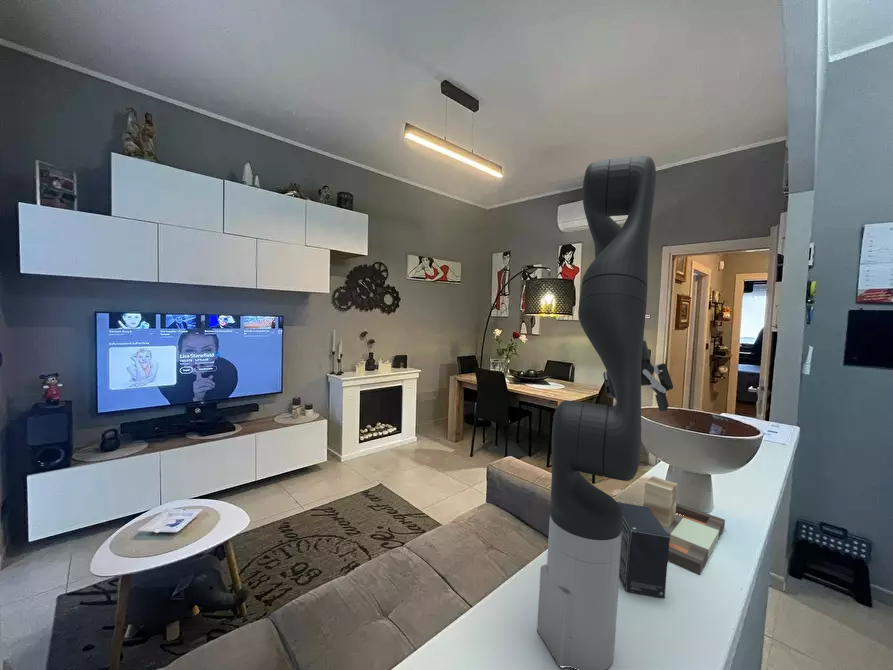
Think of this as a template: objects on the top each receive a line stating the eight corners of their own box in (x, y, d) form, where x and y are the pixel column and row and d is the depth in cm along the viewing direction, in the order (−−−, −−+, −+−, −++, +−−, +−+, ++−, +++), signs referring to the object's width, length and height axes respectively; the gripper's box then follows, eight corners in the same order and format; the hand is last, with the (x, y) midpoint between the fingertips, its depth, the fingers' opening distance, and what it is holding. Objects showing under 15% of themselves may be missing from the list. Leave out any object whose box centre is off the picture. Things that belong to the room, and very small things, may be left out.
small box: (668, 600, 60) (672, 537, 59) (625, 592, 61) (629, 530, 60) (646, 559, 70) (650, 505, 69) (610, 553, 71) (613, 500, 71)
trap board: (699, 575, 66) (700, 564, 66) (624, 541, 75) (624, 531, 75) (724, 528, 82) (725, 519, 82) (659, 505, 91) (660, 497, 91)
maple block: (668, 527, 78) (671, 490, 77) (642, 517, 81) (645, 482, 81) (675, 519, 81) (677, 483, 81) (650, 510, 85) (652, 476, 84)
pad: (707, 559, 70) (708, 549, 70) (669, 543, 75) (670, 534, 75) (718, 539, 77) (719, 530, 77) (682, 526, 82) (683, 517, 82)
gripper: (604, 343, 82) (622, 417, 78) (666, 335, 83) (686, 408, 79) (591, 350, 89) (606, 417, 86) (648, 342, 90) (666, 409, 86)
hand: (645, 413), depth 82 cm, fingers open, 8 cm apart
